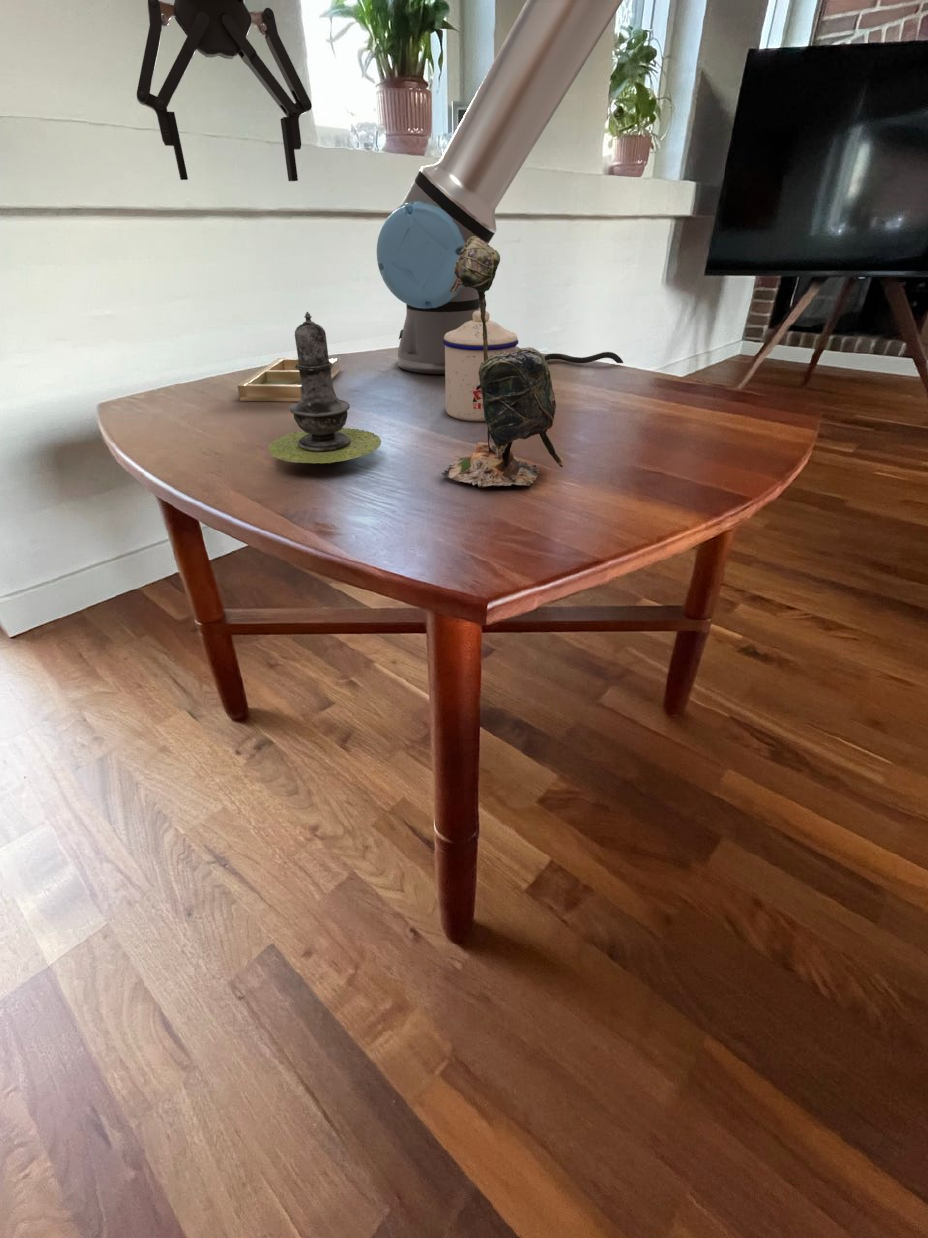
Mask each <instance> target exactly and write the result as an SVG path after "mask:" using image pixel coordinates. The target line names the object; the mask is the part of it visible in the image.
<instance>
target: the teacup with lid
mask: <svg viewBox="0 0 928 1238" xmlns="http://www.w3.org/2000/svg"><path fill="white" fill-rule="evenodd" d="M490 316H491V315H490V312H489V311H488V310H486V313H485V320H486V327H487V341H488V347H487V348H488V350H487V354H488V358H489V357H490V356H491V355H492V356H495V355H497V354H499V353H501V352H508V351H510V350H516V349H521V347H519V346H517V345H519V341H520V340H519V339H518V338H519V337H518V335H517V334H516V333H515V332H514V331H511V330H508V329H506V328H504V327H503V326H502V325H500V324H499V323H498V322H497V321H494V320H490ZM443 344H444V345H445V374H444V377H445V378H444V381H445V411H446V414H447V415H449V416H450V417H451V418H455V419H456V420H461V421H467V422H485V418H484V409H483V398H482V391H481V385H480V380H479V374H478V373H479V368H480V366H481V363H483V362H484V353H483V323H482V320H481V312H480V311H475V312H474V313H473V320H472V321H468V322H466V323H464V324H463V325H461V326H460V327H459V328H457V329H455V330H453V331H450V332H447V333H446V334H445V336H444V340H443Z"/></svg>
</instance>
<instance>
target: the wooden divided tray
mask: <svg viewBox="0 0 928 1238" xmlns="http://www.w3.org/2000/svg"><path fill="white" fill-rule="evenodd" d="M329 362H331V363H332V364H333V367H332V368H331V376H332V380H333V379H334V378H335V377H336V376H337V375H338V374H339V373H340V367H339V358H329ZM298 363H299V361H298V357H296V358H295V357H294V358H293V357H288V358H287V357H285V358H284V357H279V358H276V359H275V360H273V361H272V362H271V363H269V364H268V365H267V366H265V367H263V368H262V369H260V370H259V371H257V372H255V373H254V374H252V375H251V376H250V377H248V378H247V379H245V380H243V381H242V382H241V383H239V384H237V391H238V396H239V400H240V401H241V402H291V403H292V402H294V403H297V402H299V400H300V399H301V389H302V387H301V381H300V374H299V370H298V369H296V368H295V366H296V365H297V364H298Z"/></svg>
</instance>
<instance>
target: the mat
mask: <svg viewBox="0 0 928 1238" xmlns="http://www.w3.org/2000/svg"><path fill="white" fill-rule="evenodd" d="M338 432H340V433H343V434H345V435H346V436H348V437H349V438H350V439H351V441H350V443H349V444H348V445H347V446H345V447H342V448H339V449H334V450H327V451H312V450H306V449H302V448H301V447H299V446H298V441H299V440H300V439H301V438H302V437H304V436H305V435H307V434H309V433H306V432H304V431H303V430H300V431H295V432H292V433H288V434H285V435H284V436H281V437H279V438H277V439H275V440H273V441H272V442H271V443H270V444H269V447H268V452H269V454H271V456H273V457H275V458H277V459H279V460H281V461H283V462H284V461H285V462H288V463H289V462H290V463H296V464H298V463H301V464H320V465H322V464H334V463H335V462H337V463H339V462H345V461H350V460H353V459H357V458H360V457H365V456H367V455H369V454H371V453H373V452H374V451H376V450H378V449H379V448H380V447H381V446H382V439H381V438H380V436H378V435H377V434H375V433H374V432H371V431H368V430H365V429H358V428H348V427H342V429H341V430H340V431H338Z"/></svg>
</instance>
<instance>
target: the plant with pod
mask: <svg viewBox="0 0 928 1238" xmlns="http://www.w3.org/2000/svg"><path fill="white" fill-rule="evenodd" d="M500 262H501V254H500V253H499V251H498V250H497V249H495V248H493V247H492V246H491V245H490V244H488V245H487V244H485V243H484V242H483V241H482V240H481V239H479V237H477V236H472V237H471V238H469V239H468V240H467V243H466V245H464V248H463V250H462V252H461V256H460V258H458V260H457V261H456V267H454V268H455V274H456V280H455V282H454V285H453V286H452V287H451V289H450V291H451V292H455V291H456V290H457V288H458V286H460V285H464V286H465V287H471V288H474V289H476V290H477V291H478V295H479V306H480V312H481V320H482V323H483V353H484V362H483V363H481V366H480V368H479V373H478V374H479V380H480V385H481V391H482V398H483V409H484V418H485V421H484V423H486V425H487V432H486V433H487V442H481V441H478V442H477V443H476V445H475V451H474V452H472V454H471V455H469V456H462V457H460V456H455V455H454V457H456V459H455V460H454V461H453V463H452V464H449V465H448V467H447V468H446V469H443V472H441V475H442V476H443V477H446V478H448V479H451V480H454V481H455V482H463V483H468V484H472V486H475V485H477V486H478V488H485V487H505V486H514V485H515V486H531V484H534V483H535V482H534V481H536V479H537V478H538V475H540V470H539V467H538V466H537V465H536V464H534V465H531V464H529V463H528V462H526V461H518V460H517V459H515V456H514V453H513V451H511V449H512V445H513V443H514V442H515V441H517V440H520V439H521V440H527V439H529V438H530V437H533V436H537V435H539V437H540V439H541V441H542V444H543V445H544V446H545V448H546V450H547V453H549V455H550V456H551V457H552V458H553V460H554V462H555V463H556V464H557V465H558V466H559V467H560V468H563V467H564V466H565V463H564V459H563V458H562V457H561V456H560V455H559V454H558V453H557V452H556V450H555V447H554V445H553V443H552V441H551V440H550V437H549V436H548V434H547V432H548V430H550V429H551V428H552V427H553V426H554V421H555V414H556V409H557V403H556V396H555V394H556V393H555V392H554V389H553V380H552V378H551V377H552V376H551V371H550V368H549V364H548V362H547V361H545V357H544V355H545V354H544V353H541V352H540V350H538V349H536V348H535V347H529V346H528V347H520V349H516V350H510V351H508V352H501V353H499V354H497V355H495V356H492V355H491V356H490V357H489V358H488V354H487V350H488V348H487V347H488V341H487V327H486V320H485V313H486V311H487V309H486V308H487V301H486V292H487V291H488V292H489V290H490V289H491V287H492V285H493V281H494V280H495V278H496V273H497V270H498V268H499V267H498V266H499V264H500ZM490 439H491V440H492V442H493V444H492V443H490Z"/></svg>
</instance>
